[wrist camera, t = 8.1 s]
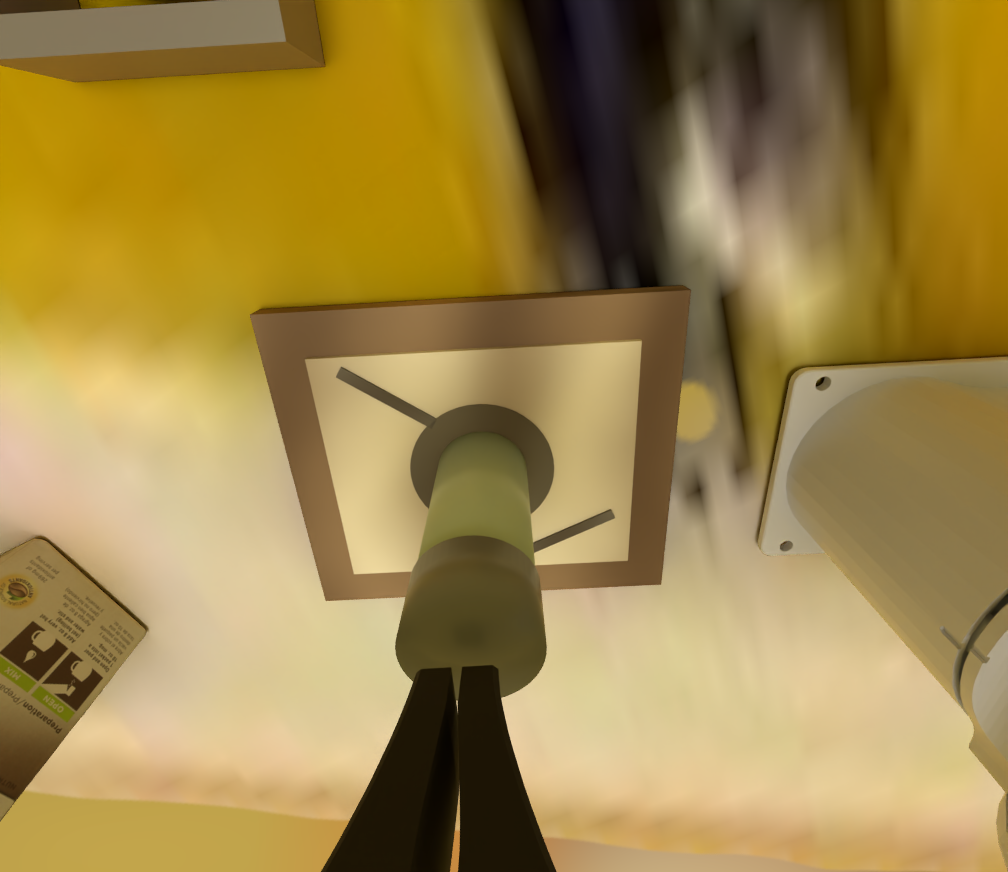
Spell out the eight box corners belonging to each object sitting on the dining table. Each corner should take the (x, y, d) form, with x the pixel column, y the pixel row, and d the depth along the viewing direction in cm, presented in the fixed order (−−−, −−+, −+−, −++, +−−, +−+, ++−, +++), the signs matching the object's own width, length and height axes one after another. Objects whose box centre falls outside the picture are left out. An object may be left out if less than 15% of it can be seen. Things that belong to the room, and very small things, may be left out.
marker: (526, 425, 18) (543, 588, 11) (532, 507, 20) (550, 697, 13) (429, 432, 18) (382, 599, 11) (442, 513, 20) (408, 705, 13)
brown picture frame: (682, 285, 17) (694, 292, 16) (655, 571, 23) (663, 589, 22) (259, 309, 17) (245, 316, 16) (331, 587, 23) (323, 606, 22)
